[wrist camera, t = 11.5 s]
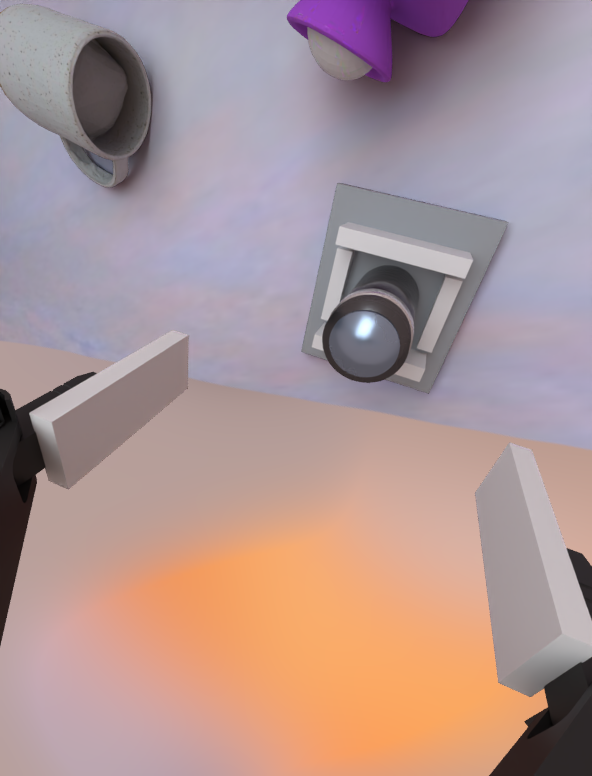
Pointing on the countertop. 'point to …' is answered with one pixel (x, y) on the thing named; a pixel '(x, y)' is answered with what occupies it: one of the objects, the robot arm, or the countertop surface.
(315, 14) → the toy camera
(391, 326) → the lens
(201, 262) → the countertop surface
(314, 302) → the mount
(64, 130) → the ceramic mug
